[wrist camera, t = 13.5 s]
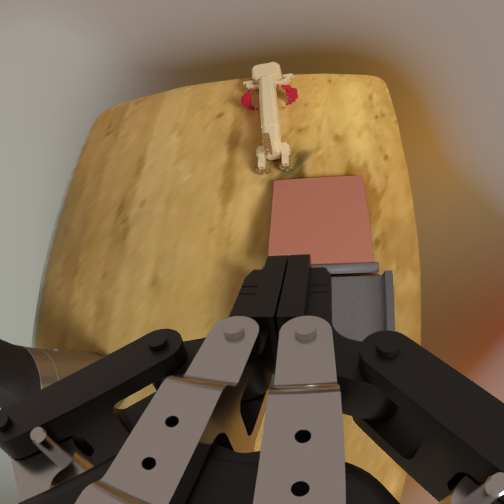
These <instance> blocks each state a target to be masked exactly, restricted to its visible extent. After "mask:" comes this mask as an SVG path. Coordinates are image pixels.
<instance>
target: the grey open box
mask: <svg viewBox="0 0 504 504" xmlns="http://www.w3.org/2000/svg"><path fill="white" fill-rule="evenodd" d="M331 283H332V324H333V327H334V328H335V330H336V331H337V332H338V333H339V334H340V335H342V336H344V337H346V338H348V339H352V340H356V341H361V342H362V341H363V340H364V339H365V338H366V337H367V336H368V335H370V334H372V333H375V332H378V331H395V315H394V290H393V274H392V271H385V272H384V273H383V275H374V276H348V277H331ZM274 381H275V374H272V379H271V384H270V388H274Z"/></svg>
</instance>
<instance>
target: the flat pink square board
mask: <svg viewBox="0 0 504 504" xmlns="http://www.w3.org/2000/svg"><path fill="white" fill-rule="evenodd" d="M300 254H310V256H311V268H315V267H325V268H326V269H327V270H328V271H329V272H330V274H344V273H371V272H379V263H378V262H374V253H373V244H372V236H371V228H370V221H369V214H368V207H367V200H366V194H365V188H364V182H363V176H362V175H360V176H336V177H318V178H302V179H288V180H275V181H274V187H273V200H272V213H271V225H270V238H269V250H268V256H278V255H289V256H290V255H300ZM263 269H264V266H263Z"/></svg>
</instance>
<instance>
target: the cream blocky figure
mask: <svg viewBox="0 0 504 504" xmlns="http://www.w3.org/2000/svg"><path fill="white" fill-rule="evenodd" d="M252 78H253V80H250V81H245V82H243V84H244V87H246V88H247V89H252V91H254V90H256V89H258V90H259V100H260V117H261V128H262V144H263V146H258V149H256V156H257V158H258V166H256V172H257V174H260V173H261V174H268V172H271V167H270V165H269V164H267V165H265V164H266V158H267V159H268V160H269V159H270V160H276V159H280V158H281V156H282V162H281V163H279V168H280V171H282V170H285V171H291V169H294V163H293V161H289V155H291V154H290V147H289V144H288V145H287V143H286V142H283V143H282V142H281V132H280V124H279V114H278V104H277V92H276V91H277V90H276V88H278V87H283V89H286V94H287V96H289V98H290V99H292V100H288V101H289V104H291V103H292V102H294V101H295V99H297V98H298V94H297V89H295V88H291V86H289V85H287V84H286V83H289V81H290V79H293V74H285V75H283V78H282V73H281V69H280V66H279V64H278V63H275V62H270V63H267V64H260V65H256V66H255V67H253V68H252ZM253 81H254V82H253ZM254 83H255V85H254ZM284 84H285V85H287V86H285V85H284ZM250 93H251V90H249V91H248V92H246V94H245V95H244V96H242V98H241V99H242V106H243V107H244V106H245V107H247V109H253V110H255V108H254V106H250V105H251V95H250ZM286 105H288V103H287V104H286ZM256 109H257V110H258V108H256Z"/></svg>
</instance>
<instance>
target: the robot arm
mask: <svg viewBox="0 0 504 504" xmlns="http://www.w3.org/2000/svg"><path fill="white" fill-rule="evenodd" d="M272 374H275V381H274V388H270V384H271V379H272ZM151 383H153V385H154V387H155V389H156V392H154V393H153V394H151V395H149V396H148V397H146V398H144V399H142V400H140V401H139V402H137V403H135V404H133V405H132V406H130V407H128V408H126V409H117V407H118V406H120V404H121V403H122V402H123V399H125V398H126V397H128V396H130V395H132V394H134V393H135V392H137V391H139V390H141V389H143V388H144V387H146V386H148V385H150V384H151ZM0 408H1V410H0V447H1V449H3V450H4V451H5V452H6V453H7V454H8V456H9V457H10V458H11V460H12V464H13V470H14V475H15V479H16V483H17V488H18V491H19V496H20V499H21V502H20V503H19V504H400V503H399V502H398V501H397V500H396V499H395V498H394V497H393V496H392V494H391V493H390V492H389V491H388V490H387V489H386V488H385V487H384V486H383V485H382V484H381V483H380V482H379V481H378V480H377V479H376V478H375V477H373V476H372V475H371V474H370V473H368V472H366V471H365V470H363V469H361V468H359V467H357V466H355V465H353V464H350V463H347V462H345V453H344V433H343V418H342V413H343V414H347V415H350V416H352V417H353V420H354V422H355V423H356V424H357V425H358V426H359V427H360V428H361V429H362V430H363V431H364V432H365V433H366V434H367V435H368V436H369V437H370V438H371V439H372V440H373V441H374V442H375V443H376V444H377V445H378V446H379V447H380V448H381V449H382V450H384V451H385V452H386V453H387V454H388V455H389V456H390V457H391V458H392V459H393V460H394V461H395V462H396V463H397V464H398V465H399V466H400V467H401V468H403V469H404V470H405V471H406V472H407V473H408V474H409V475H410V476H411V477H412V478H413V479H415V480H416V481H417V482H418V483H419V484H420V485H421V486H422V487H423V488H424V489H425V490H427V491H428V492H429V493H430V494H431V495H432V496H433V497H435V499H437V500H438V501H439V504H504V403H502V402H501V401H500V400H498V399H497V398H495V397H494V396H492V395H491V394H490V393H488V392H487V391H485V390H484V389H483V388H481V387H480V386H478V385H477V384H475V383H474V382H473V381H471V380H470V379H468V378H467V377H465V376H464V375H462V374H461V373H459V372H458V371H457V370H455V369H454V368H452V367H451V366H449V365H448V364H446V363H445V362H443V361H442V360H440V359H439V358H438V357H436V356H435V355H433V354H432V353H430V352H429V351H427V350H426V349H424V348H423V347H421V346H420V345H418V344H417V343H415V342H414V341H413V340H411V339H410V338H408V337H407V336H405V335H403V334H401V333H399V332H395V331H378V332H375V333H372V334H370V335H368V336H367V337H366V338H365V339H364V340H363V341H362V342H361V341H356V340H352V339H348V338H346V337H344V336H342V335H340V334H339V333H338V332H337V331H336V330H335V328H334V327H333V324H332V283H331V274H330V272H329V271H328V270H327V269H326V268H325V267H315V268H311V256H310V254H300V255H290V256H289V255H278V256H268V257H267V260H266V263H265V266H264V269H263V270H253V271H252V272H251V273H250V274H249V275H248V276H247V277H246V278H245V280H244V282H243V285H242V288H241V289H240V292H239V295H238V297H237V299H236V301H235V304H234V306H233V309H232V311H231V313H230V316H229V318H225V319H223V320H221V321H219V322H218V323H216V324H215V325H214V326H213V327H212V329H211V330H210V332H209V334H208V335H207V337H206V338H202V339H196V340H191V341H185V342H183V340H182V338H181V335H180V334H179V333H178V332H177V331H175V330H172V329H160V330H156V331H153V332H151V333H149V334H147V335H145V336H143V337H141V338H139V339H137V340H135V341H134V342H132V343H130V344H128V345H126V346H124V347H122V348H120V349H119V350H117V351H115V352H113V353H111V354H109V355H107V356H99V355H98V354H97V353H96V352H86V351H77V350H69V349H61V348H55V349H54V351H52V350H45V349H37V348H30V347H23V346H18V345H13V344H10V343H8V342H5V341H3V340H1V339H0ZM265 410H266V414H265V422H264V430H263V437H262V445H261V451H258V452H254V445H255V440H256V437H257V434H258V431H259V428H260V425H261V422H262V419H263V416H264V413H265Z"/></svg>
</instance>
